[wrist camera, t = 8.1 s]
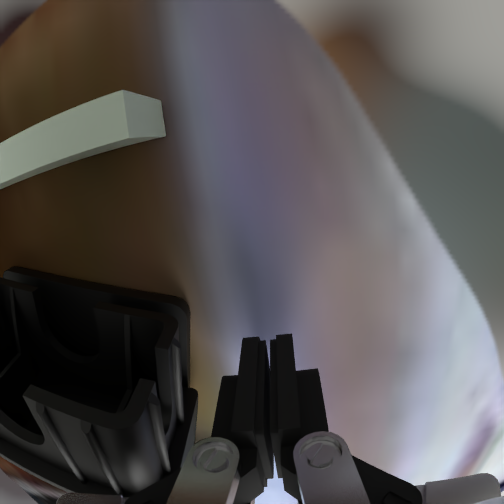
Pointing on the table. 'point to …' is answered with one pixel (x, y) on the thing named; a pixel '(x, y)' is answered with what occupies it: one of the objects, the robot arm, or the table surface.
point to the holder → (81, 134)
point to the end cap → (93, 383)
